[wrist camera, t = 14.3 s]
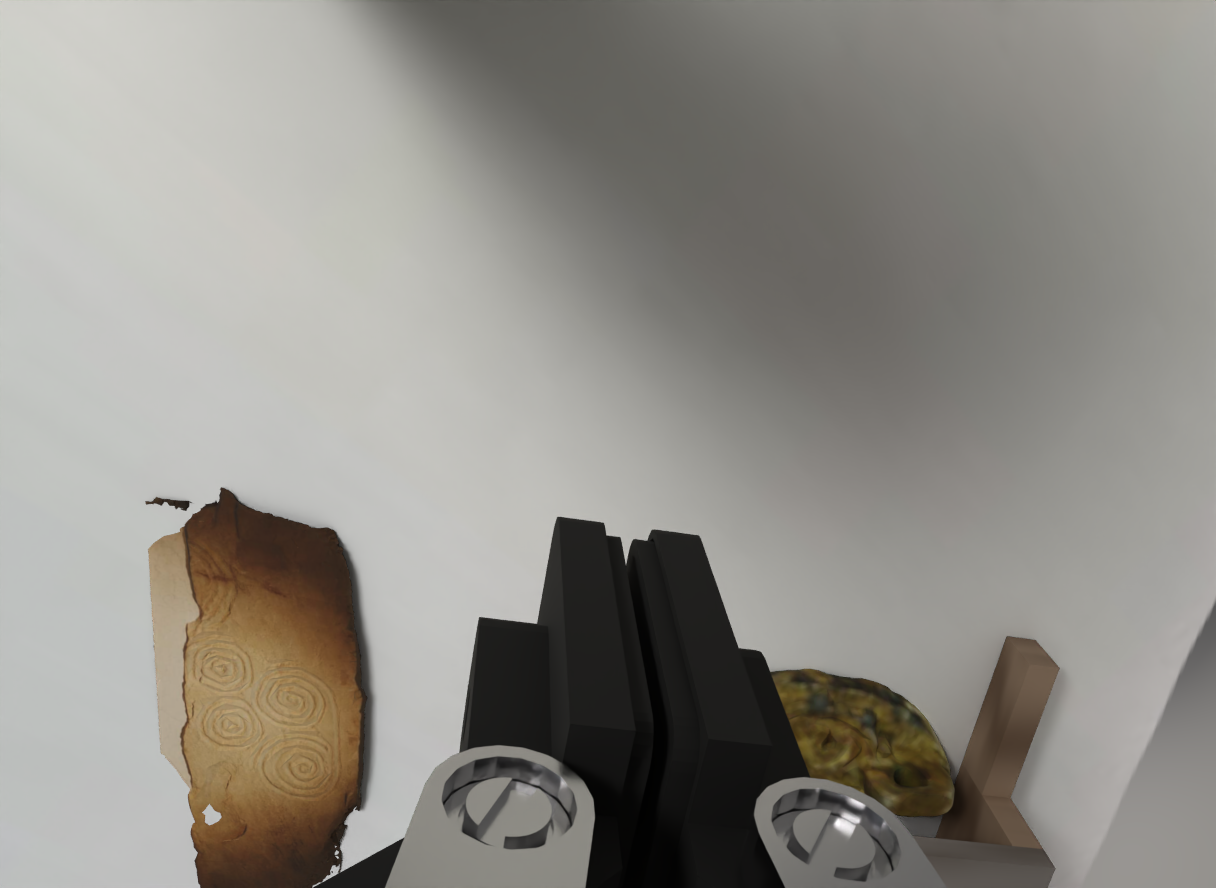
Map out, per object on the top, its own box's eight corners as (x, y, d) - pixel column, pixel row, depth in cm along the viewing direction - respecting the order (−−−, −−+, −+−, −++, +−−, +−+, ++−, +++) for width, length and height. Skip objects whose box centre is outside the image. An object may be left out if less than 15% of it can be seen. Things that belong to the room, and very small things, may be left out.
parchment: (146, 483, 45) (139, 491, 44) (374, 501, 46) (370, 509, 45) (170, 916, 54) (164, 930, 53) (360, 925, 55) (357, 939, 54)
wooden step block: (615, 586, 48) (628, 672, 41) (1035, 640, 51) (1112, 729, 44) (562, 850, 53) (565, 965, 46) (945, 886, 56) (1001, 1000, 49)
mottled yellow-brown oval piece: (644, 800, 54) (921, 808, 55) (652, 874, 50) (951, 881, 51) (664, 659, 50) (963, 670, 51) (673, 726, 46) (999, 737, 47)
